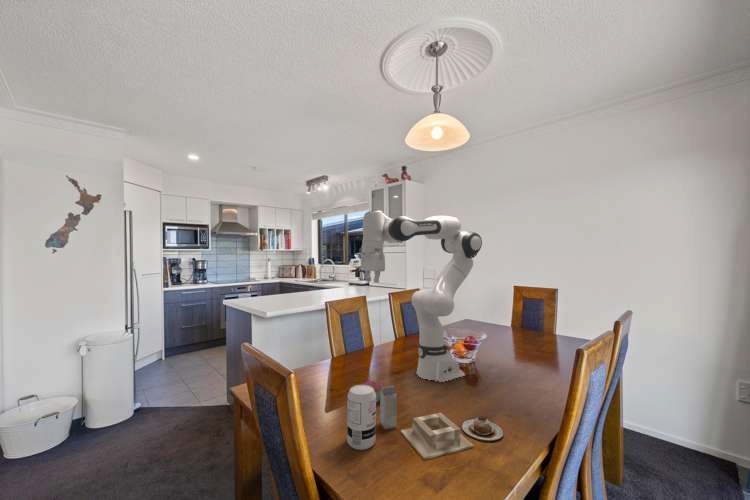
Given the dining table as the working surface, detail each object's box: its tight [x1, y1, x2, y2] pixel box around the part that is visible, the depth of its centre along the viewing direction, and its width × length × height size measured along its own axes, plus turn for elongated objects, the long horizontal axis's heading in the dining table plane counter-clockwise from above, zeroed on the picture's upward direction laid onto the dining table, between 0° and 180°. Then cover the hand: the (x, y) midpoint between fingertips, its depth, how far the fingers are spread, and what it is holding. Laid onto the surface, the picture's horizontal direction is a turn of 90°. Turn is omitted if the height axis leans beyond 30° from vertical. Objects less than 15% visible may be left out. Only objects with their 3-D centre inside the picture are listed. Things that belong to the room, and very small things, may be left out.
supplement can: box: [346, 384, 377, 451], centre depth 87 cm, size 8×8×15 cm
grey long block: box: [379, 384, 398, 431], centre depth 97 cm, size 4×4×12 cm
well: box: [400, 412, 475, 461], centre depth 89 cm, size 16×14×5 cm
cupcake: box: [361, 369, 384, 403], centre depth 114 cm, size 9×8×12 cm
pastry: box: [461, 414, 504, 442], centre depth 94 cm, size 12×12×5 cm
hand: (372, 282), depth 126 cm, fingers open, 8 cm apart
